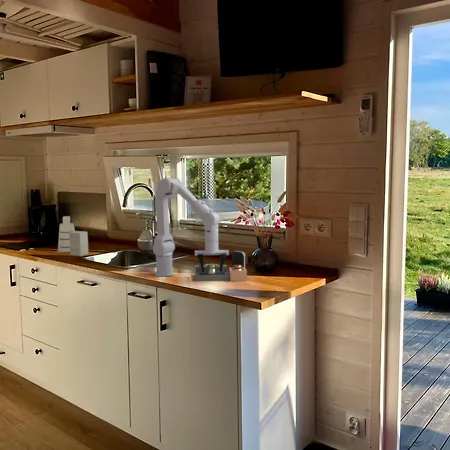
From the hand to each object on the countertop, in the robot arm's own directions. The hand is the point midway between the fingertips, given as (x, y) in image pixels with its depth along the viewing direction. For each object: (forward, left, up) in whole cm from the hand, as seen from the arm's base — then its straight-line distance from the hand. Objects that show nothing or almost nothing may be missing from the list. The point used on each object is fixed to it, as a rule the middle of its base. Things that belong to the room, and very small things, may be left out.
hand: (211, 271), depth 213 cm
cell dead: (+2, +11, -3) cm, 12 cm away
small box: (-70, -71, -4) cm, 100 cm away
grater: (-86, -81, -4) cm, 118 cm away
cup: (+2, +11, -4) cm, 12 cm away
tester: (-2, 0, -4) cm, 4 cm away
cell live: (0, 0, -3) cm, 3 cm away
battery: (-6, +13, -4) cm, 15 cm away
